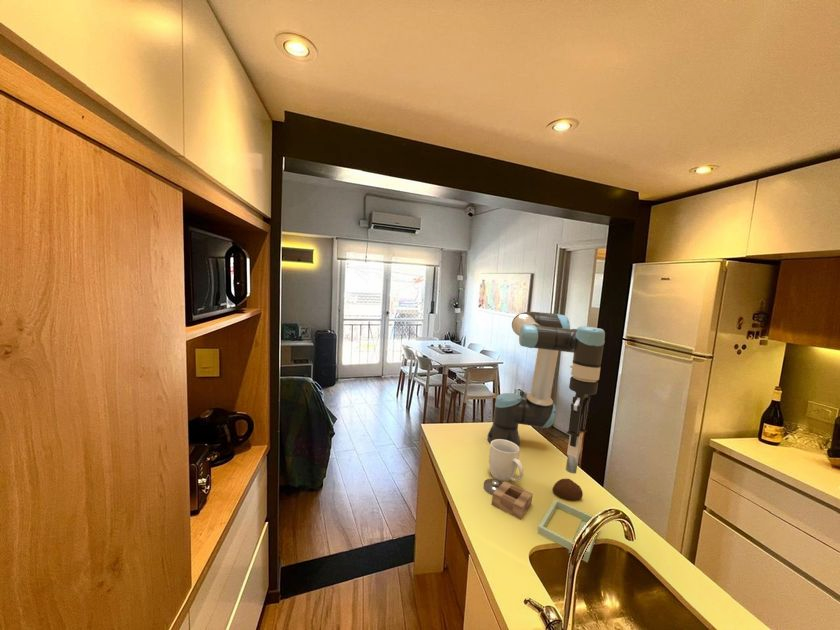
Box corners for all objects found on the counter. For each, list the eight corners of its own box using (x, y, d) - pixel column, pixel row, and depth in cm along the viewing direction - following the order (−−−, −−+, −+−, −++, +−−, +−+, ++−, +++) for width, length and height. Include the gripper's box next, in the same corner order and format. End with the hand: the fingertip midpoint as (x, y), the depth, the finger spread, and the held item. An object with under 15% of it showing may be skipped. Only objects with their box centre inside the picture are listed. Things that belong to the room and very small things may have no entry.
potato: (586, 506, 118) (589, 487, 117) (556, 503, 118) (559, 484, 117) (577, 493, 125) (579, 475, 124) (549, 491, 125) (551, 473, 124)
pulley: (489, 482, 126) (490, 473, 126) (509, 491, 122) (510, 482, 121) (479, 491, 120) (480, 481, 120) (500, 501, 115) (501, 492, 115)
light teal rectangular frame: (554, 507, 115) (555, 498, 115) (599, 528, 107) (600, 519, 106) (536, 535, 101) (538, 526, 100) (587, 562, 92) (589, 552, 92)
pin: (567, 467, 105) (572, 429, 103) (577, 470, 103) (582, 432, 102) (564, 470, 102) (569, 432, 101) (574, 474, 100) (580, 435, 99)
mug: (529, 487, 126) (534, 454, 124) (509, 495, 120) (514, 460, 118) (500, 467, 138) (504, 436, 137) (480, 473, 132) (484, 441, 131)
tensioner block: (503, 494, 120) (504, 480, 119) (530, 507, 114) (532, 493, 113) (491, 507, 112) (492, 493, 111) (520, 522, 106) (522, 507, 105)
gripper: (577, 371, 109) (567, 441, 111) (563, 379, 96) (552, 457, 98) (603, 377, 104) (592, 449, 106) (592, 386, 91) (580, 468, 93)
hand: (573, 453), depth 102 cm, fingers closed on pin, 3 cm apart
